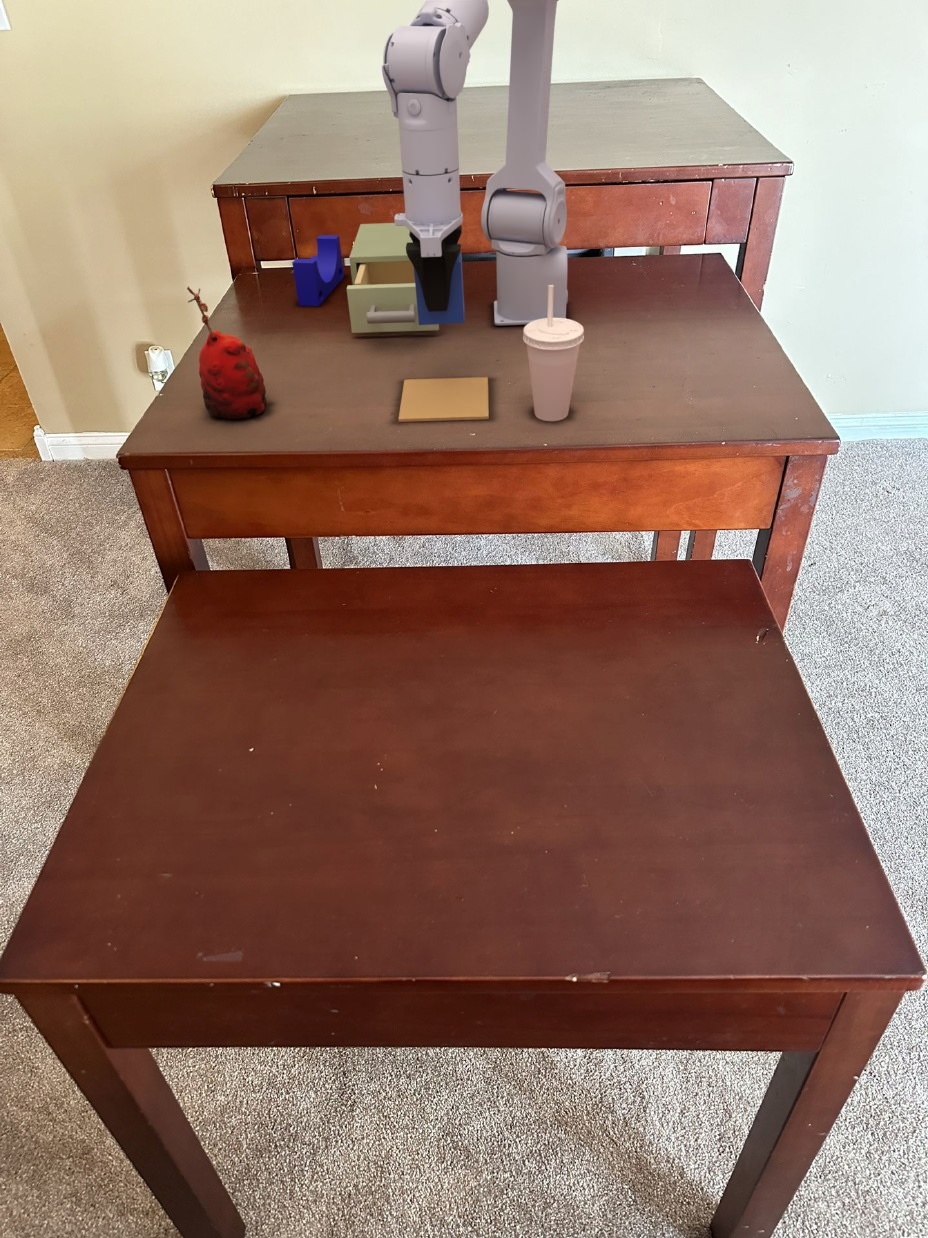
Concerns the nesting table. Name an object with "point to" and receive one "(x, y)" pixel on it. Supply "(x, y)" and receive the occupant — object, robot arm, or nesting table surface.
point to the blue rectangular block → (455, 304)
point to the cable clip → (319, 272)
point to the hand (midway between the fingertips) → (438, 303)
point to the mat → (444, 399)
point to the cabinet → (379, 245)
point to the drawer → (384, 298)
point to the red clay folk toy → (229, 374)
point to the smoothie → (552, 362)
